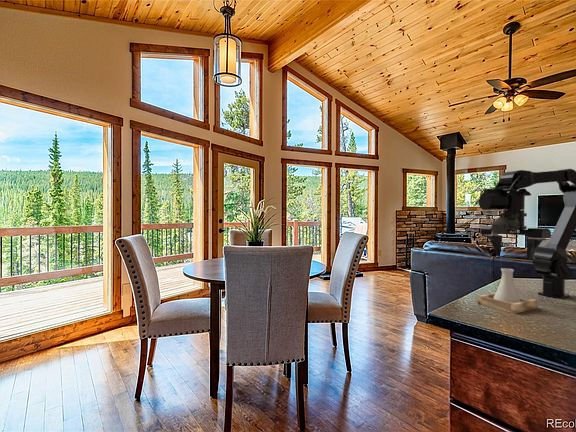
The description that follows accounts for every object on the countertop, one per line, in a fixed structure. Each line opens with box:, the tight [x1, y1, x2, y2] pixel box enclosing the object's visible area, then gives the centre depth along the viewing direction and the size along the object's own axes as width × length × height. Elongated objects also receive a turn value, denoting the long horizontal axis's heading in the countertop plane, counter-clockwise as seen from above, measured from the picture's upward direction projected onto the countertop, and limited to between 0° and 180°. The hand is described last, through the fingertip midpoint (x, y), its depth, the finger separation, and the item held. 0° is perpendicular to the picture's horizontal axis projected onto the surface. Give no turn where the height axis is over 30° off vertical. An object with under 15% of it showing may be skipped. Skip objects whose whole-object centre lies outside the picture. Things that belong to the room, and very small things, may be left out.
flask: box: [493, 267, 521, 303], centre depth 98 cm, size 7×7×10 cm
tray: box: [477, 292, 538, 314], centre depth 98 cm, size 11×10×2 cm
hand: (513, 258), depth 107 cm, fingers open, 9 cm apart
